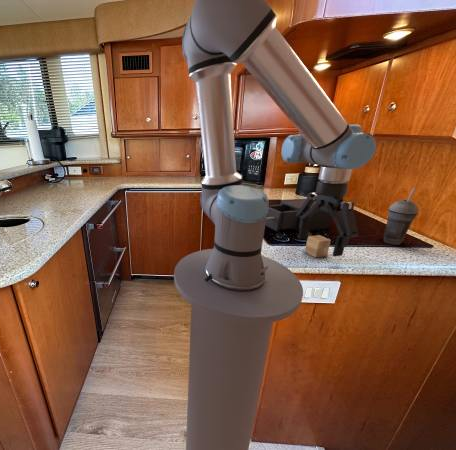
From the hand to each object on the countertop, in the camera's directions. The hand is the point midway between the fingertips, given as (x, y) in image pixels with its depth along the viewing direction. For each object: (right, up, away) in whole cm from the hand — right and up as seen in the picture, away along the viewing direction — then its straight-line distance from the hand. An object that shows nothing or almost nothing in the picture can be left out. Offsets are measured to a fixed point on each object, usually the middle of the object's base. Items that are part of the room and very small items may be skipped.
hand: (318, 246), depth 78 cm
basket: (-2, +7, +23) cm, 24 cm away
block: (0, -3, +1) cm, 3 cm away
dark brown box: (+11, +7, +26) cm, 29 cm away
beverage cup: (+32, 0, +8) cm, 33 cm away
